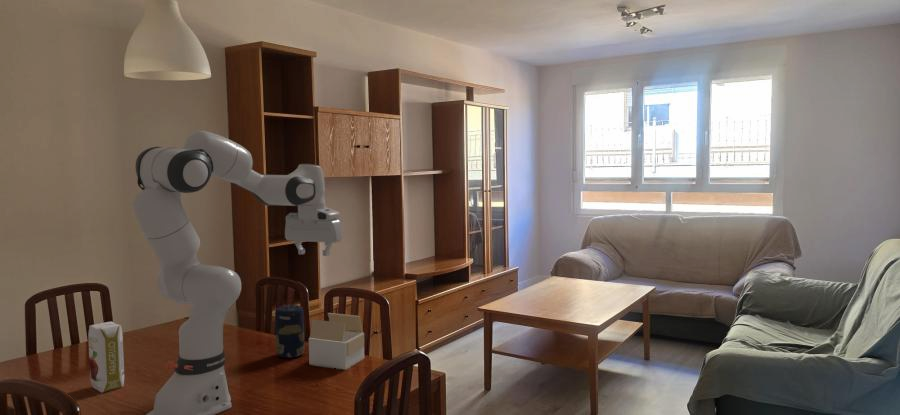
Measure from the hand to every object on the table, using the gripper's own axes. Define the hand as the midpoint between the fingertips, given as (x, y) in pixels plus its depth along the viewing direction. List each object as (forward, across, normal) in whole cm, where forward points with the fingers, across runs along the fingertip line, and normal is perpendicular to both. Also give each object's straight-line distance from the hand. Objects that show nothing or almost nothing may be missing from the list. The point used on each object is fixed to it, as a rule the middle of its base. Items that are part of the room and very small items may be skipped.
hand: (313, 254), depth 191 cm
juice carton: (+36, -47, -41) cm, 71 cm away
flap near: (+25, +6, -2) cm, 25 cm away
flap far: (+25, +6, +8) cm, 27 cm away
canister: (+37, -13, +3) cm, 39 cm away
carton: (+37, +6, +3) cm, 37 cm away
